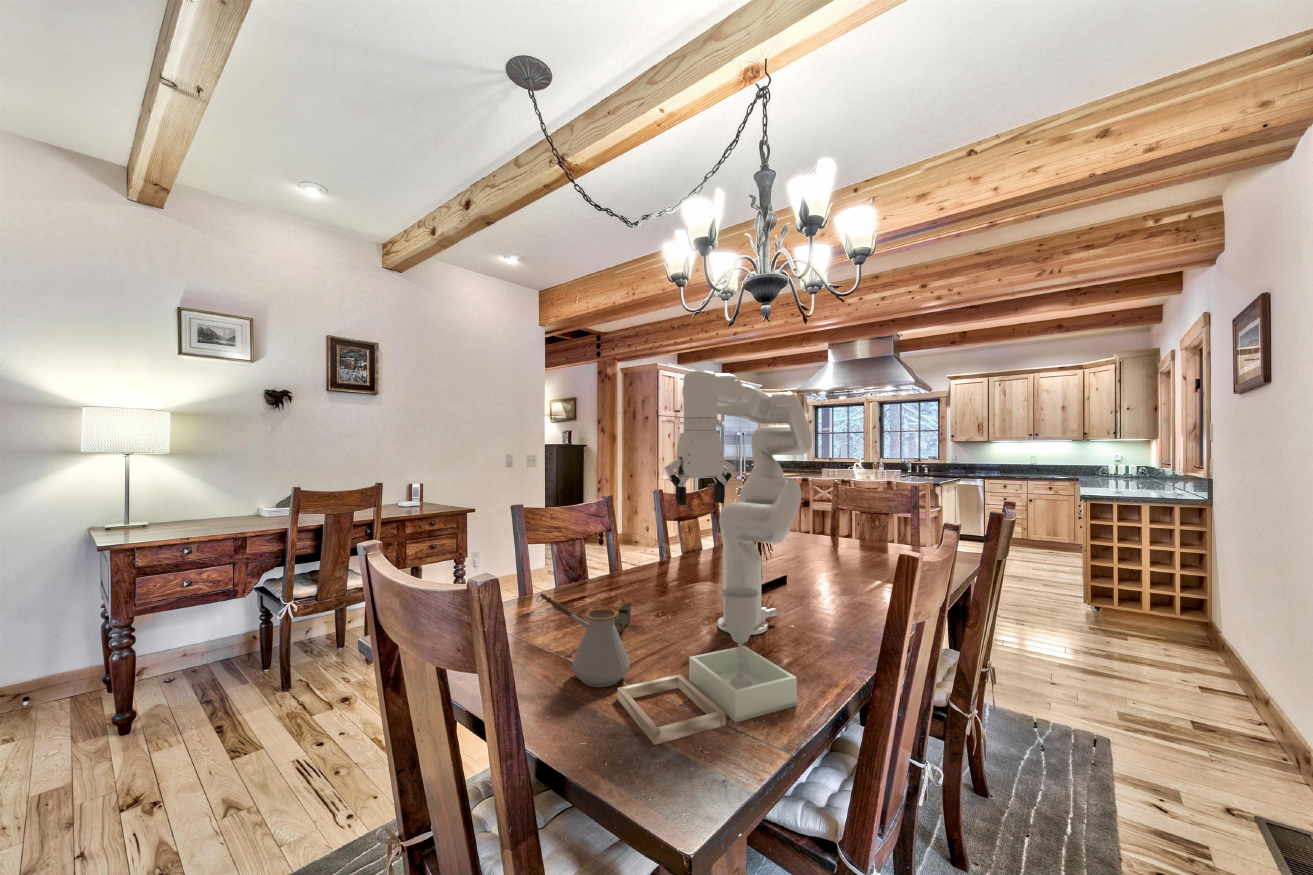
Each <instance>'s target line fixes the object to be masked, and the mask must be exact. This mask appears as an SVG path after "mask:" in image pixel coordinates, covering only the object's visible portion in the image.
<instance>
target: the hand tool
mask: <svg viewBox="0 0 1313 875" xmlns="http://www.w3.org/2000/svg"><path fill="white" fill-rule="evenodd" d="M631 610H632V609H631V605H630V604H629V603H624V604H623V605H622V606H621V607H619V609H618V612H617V614H618V615H617V617H616V618H615V621H614V625H615V627H616V629H617V632H618V634H619V635H620V634H621V633H622V632H623V630H624V629H625V627H628V626H629V625H630V621H631V615H632V614H631Z"/></svg>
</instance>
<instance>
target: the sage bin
mask: <svg viewBox="0 0 1313 875" xmlns="http://www.w3.org/2000/svg"><path fill="white" fill-rule="evenodd" d="M737 650H738V646H737V647H731V648H726V649H721V650H716V651H712V652H707V653H702V654H697V655H691V656H689V657H688V658H689V659H688V663H689V664H688V665H689V666H688V669H689V671H688V672H689V674H688V676H689V677H688V678H689V680H688V681H689V682H690V683H691V684H692V685H693V686H694V687H696V688H697V689H698V690H699V691H700V692H701V693H703V694H704V695H705V696H706V697H707V698H708V699H710V700H711V701H712V702H713V703H714V704H715V705H716V706H718V707H719V708H720V709H721V710H722V711H723V712H725V716H727V717H729V719H731V720H732V721H733V722H734V723H740V722H743V721H746V720H749V719H754V718H757V717H761V716H764V715H769V714H772V713H776V712H779V711H782V710H783V711H784V710H786V709H790V708H794V707H797V706H798V694H797V693H798V692H797V691H798V681H797V680H798V677H797V676H795V675H794V674H792V673H790V672H788V671H787V670H785V669H783V668H782V667H780V666H778V665H777V664H775V663H774V662H772V661H771V660H769V659H767V658H765V657H764V656H762V655H761V654H759V653H757V652H755V651H754V650H752V649H750V648H749V647H747V646H746V645H743V650H744V652H745V654H744V655H743V660H744V662H745V664H744V666H743V672H744V673H745V674H746V675H748V676H749V678H750V679H751V682H752V686H749V687H745V688H741V689H735V688H734V687H733V686H732V685H730V684H729V682H730V680H731V677H732V676H733V675H734V674H736V673H737V672H738V665H737V664H736V662H737V661H738V655H737V653H736V652H737Z"/></svg>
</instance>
